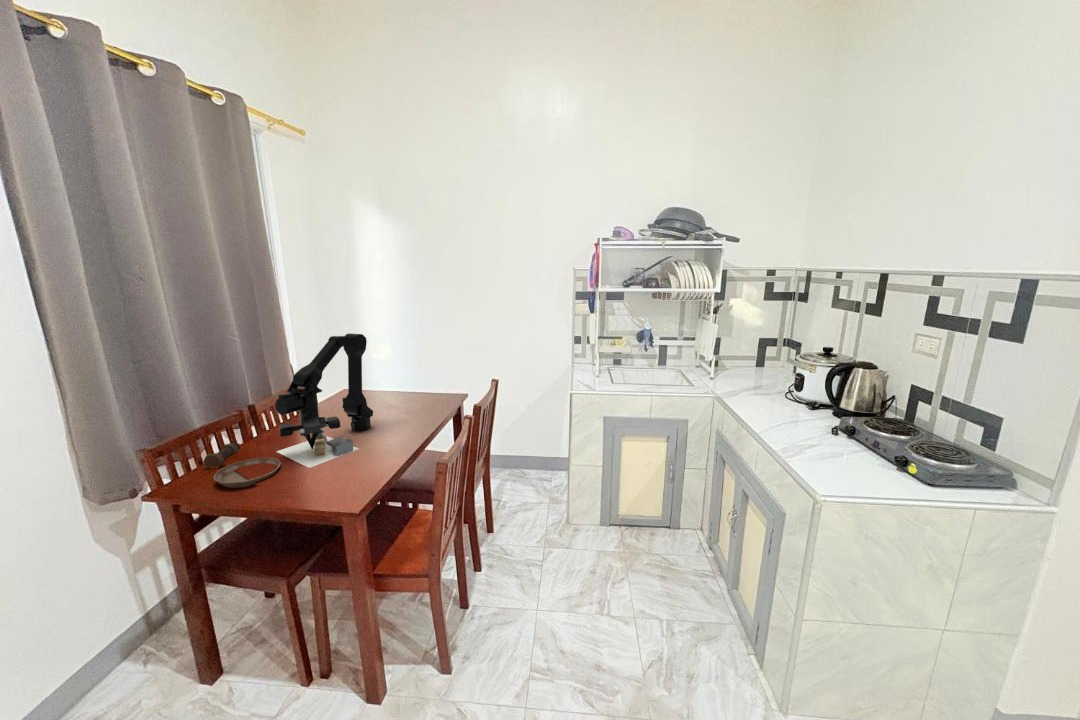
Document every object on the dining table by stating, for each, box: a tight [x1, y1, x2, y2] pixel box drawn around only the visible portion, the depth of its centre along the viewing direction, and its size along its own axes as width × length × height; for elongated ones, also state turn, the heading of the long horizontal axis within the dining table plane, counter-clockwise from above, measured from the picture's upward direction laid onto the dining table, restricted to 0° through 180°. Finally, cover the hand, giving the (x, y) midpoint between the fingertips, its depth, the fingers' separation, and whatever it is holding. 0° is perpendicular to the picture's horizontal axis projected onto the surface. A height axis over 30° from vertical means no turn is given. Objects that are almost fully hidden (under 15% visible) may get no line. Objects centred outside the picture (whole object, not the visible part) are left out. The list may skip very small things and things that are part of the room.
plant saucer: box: [213, 457, 281, 489], centre depth 139 cm, size 18×18×3 cm
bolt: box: [202, 441, 241, 469], centre depth 152 cm, size 6×5×15 cm
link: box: [314, 428, 327, 456], centre depth 157 cm, size 15×4×4 cm, turn 25°
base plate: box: [275, 434, 360, 469], centre depth 156 cm, size 18×23×1 cm
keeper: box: [327, 436, 354, 457], centre depth 154 cm, size 6×7×4 cm
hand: (312, 449), depth 155 cm, fingers closed
